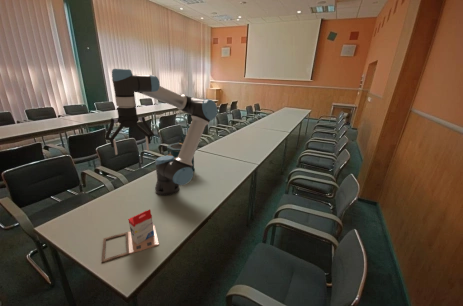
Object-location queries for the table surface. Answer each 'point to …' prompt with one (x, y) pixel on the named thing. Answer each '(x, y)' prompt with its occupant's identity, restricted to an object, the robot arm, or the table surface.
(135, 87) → the robot arm
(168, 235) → the table surface
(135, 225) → the ink box
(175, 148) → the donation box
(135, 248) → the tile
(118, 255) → the frame
